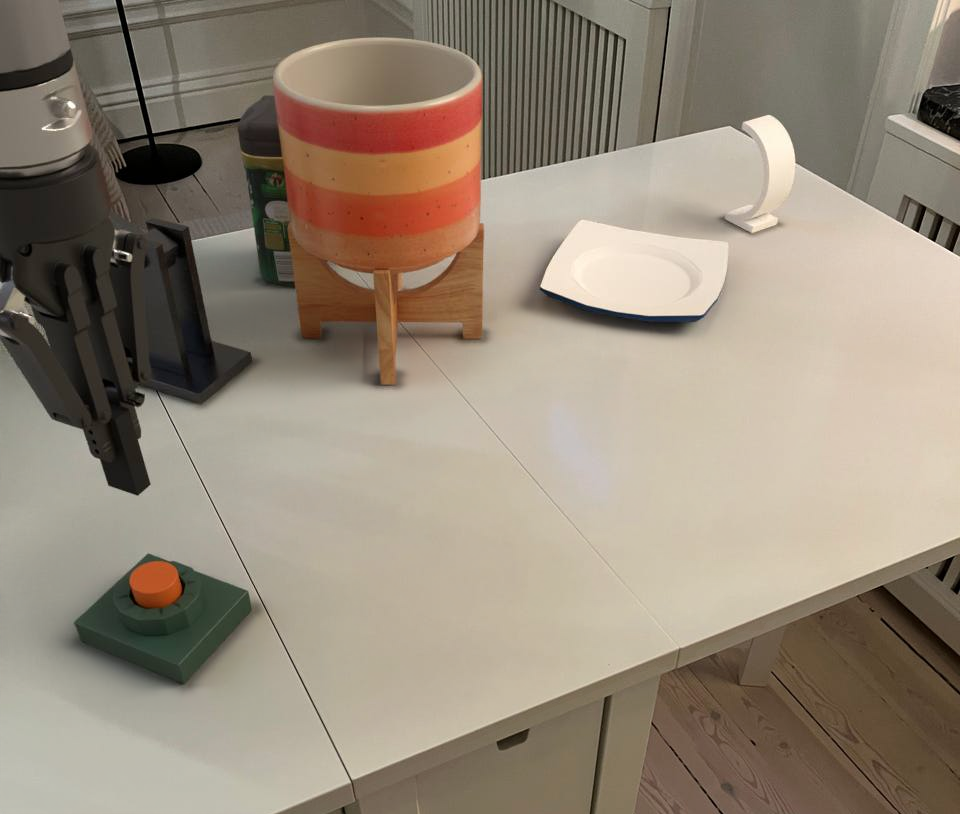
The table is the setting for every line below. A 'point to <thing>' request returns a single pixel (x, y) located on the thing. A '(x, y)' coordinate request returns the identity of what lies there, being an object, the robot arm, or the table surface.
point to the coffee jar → (267, 189)
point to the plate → (636, 273)
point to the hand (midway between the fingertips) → (129, 484)
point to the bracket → (182, 324)
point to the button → (155, 584)
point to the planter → (383, 183)
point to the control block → (166, 622)
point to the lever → (148, 237)
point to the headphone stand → (768, 174)
